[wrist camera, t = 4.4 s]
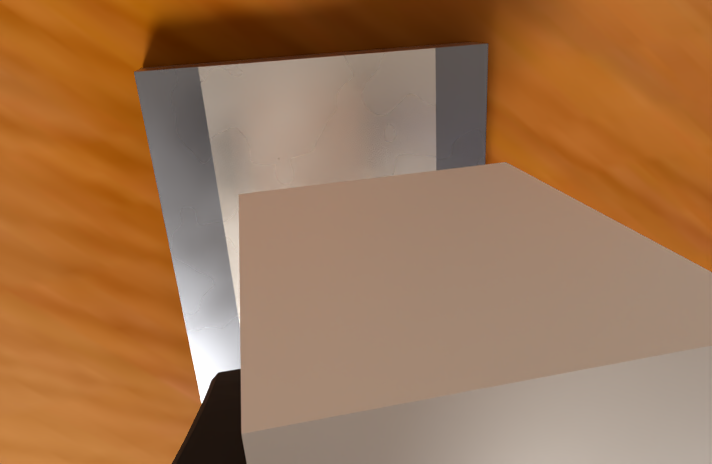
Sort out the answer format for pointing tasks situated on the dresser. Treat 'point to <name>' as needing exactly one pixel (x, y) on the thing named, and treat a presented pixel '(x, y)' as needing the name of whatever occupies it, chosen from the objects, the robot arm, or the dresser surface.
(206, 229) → the base plate
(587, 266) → the block
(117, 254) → the dresser surface
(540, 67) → the dresser surface
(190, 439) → the robot arm
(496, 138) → the dresser surface
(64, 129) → the dresser surface
